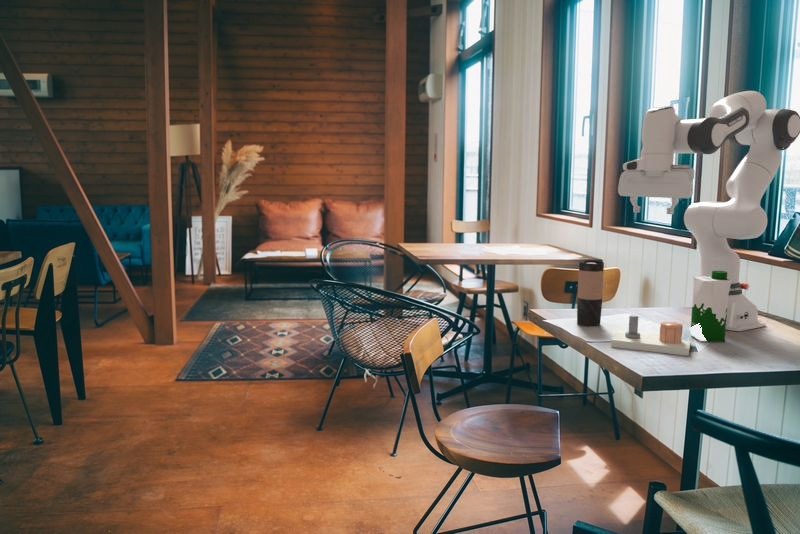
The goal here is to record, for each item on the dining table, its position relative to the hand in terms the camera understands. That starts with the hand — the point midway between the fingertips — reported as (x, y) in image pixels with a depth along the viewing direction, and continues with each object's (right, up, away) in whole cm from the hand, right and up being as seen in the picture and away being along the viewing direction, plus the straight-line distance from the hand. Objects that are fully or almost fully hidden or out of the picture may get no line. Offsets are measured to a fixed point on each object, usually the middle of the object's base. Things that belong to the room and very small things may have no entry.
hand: (653, 213), depth 195 cm
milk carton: (+17, -37, +4) cm, 41 cm away
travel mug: (-13, -34, +22) cm, 42 cm away
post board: (-2, -38, -4) cm, 38 cm away
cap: (+2, -36, -7) cm, 37 cm away
